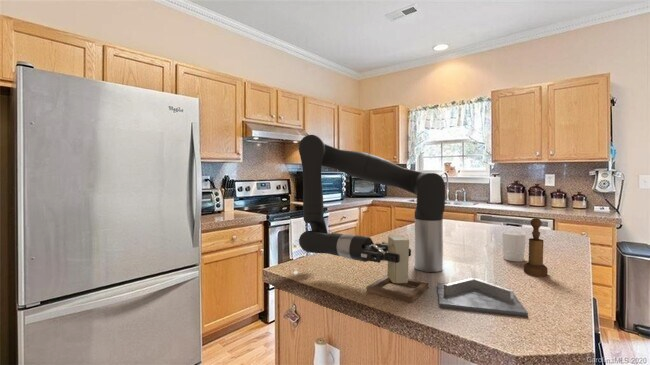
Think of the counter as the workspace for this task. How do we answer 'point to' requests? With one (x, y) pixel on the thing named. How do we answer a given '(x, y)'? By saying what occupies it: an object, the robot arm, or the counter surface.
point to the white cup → (513, 245)
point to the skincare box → (400, 269)
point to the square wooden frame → (408, 297)
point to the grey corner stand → (479, 297)
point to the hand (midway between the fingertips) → (405, 255)
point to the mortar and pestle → (535, 252)
